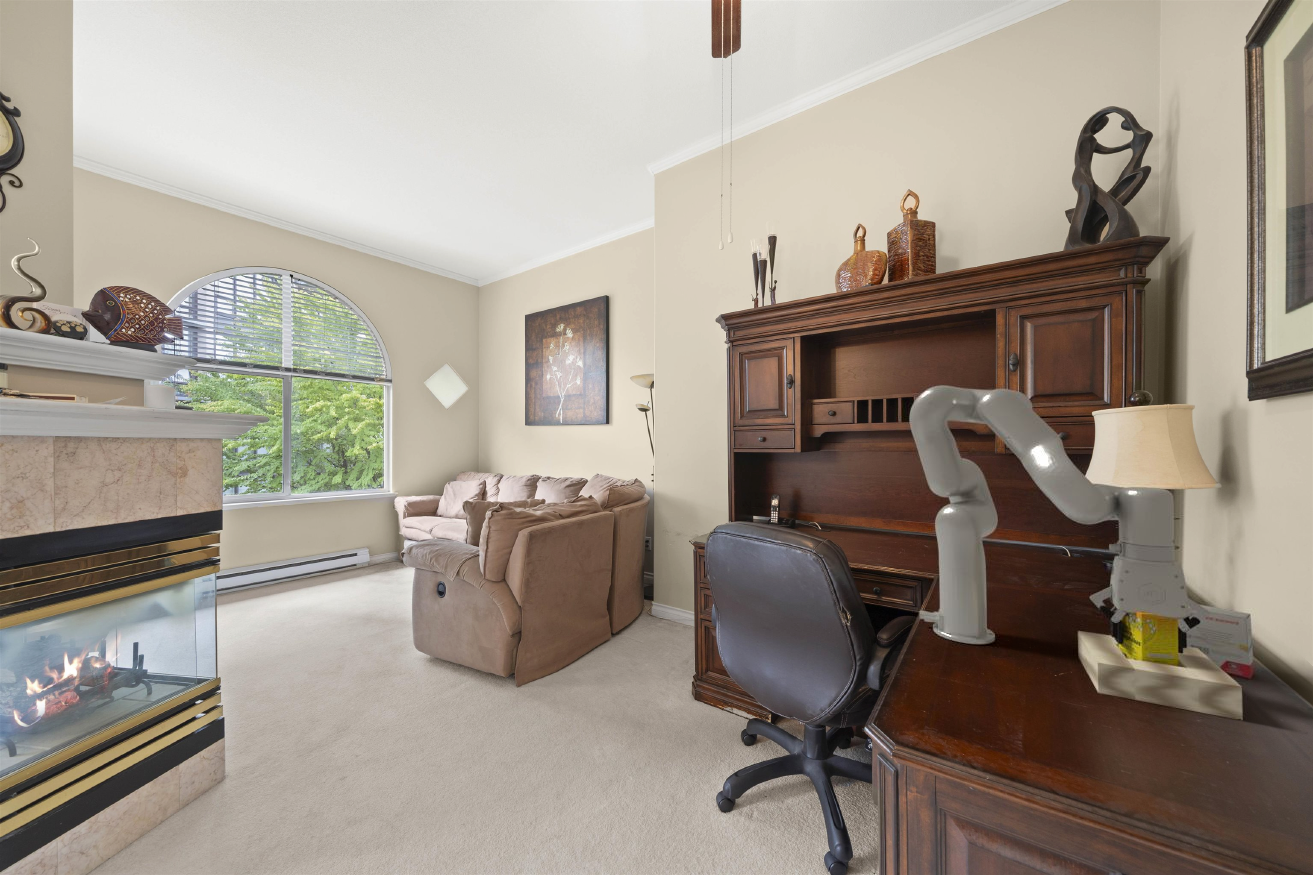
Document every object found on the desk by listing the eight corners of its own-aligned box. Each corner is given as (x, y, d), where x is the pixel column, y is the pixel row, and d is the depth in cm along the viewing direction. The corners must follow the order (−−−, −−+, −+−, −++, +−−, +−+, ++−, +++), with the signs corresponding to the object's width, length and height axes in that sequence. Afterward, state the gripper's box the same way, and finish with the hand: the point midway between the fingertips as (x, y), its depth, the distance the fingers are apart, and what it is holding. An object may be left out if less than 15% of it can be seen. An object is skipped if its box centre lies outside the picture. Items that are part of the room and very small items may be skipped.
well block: (1098, 692, 91) (1097, 662, 91) (1078, 656, 106) (1078, 630, 107) (1242, 720, 82) (1241, 686, 82) (1198, 676, 97) (1197, 648, 97)
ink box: (1254, 673, 98) (1253, 613, 98) (1250, 680, 95) (1248, 618, 96) (1190, 657, 106) (1189, 601, 106) (1185, 663, 103) (1183, 606, 103)
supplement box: (1117, 658, 98) (1117, 602, 98) (1152, 660, 97) (1152, 604, 97) (1142, 672, 92) (1141, 613, 92) (1179, 675, 91) (1178, 614, 91)
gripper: (1090, 551, 96) (1091, 643, 96) (1221, 562, 87) (1222, 664, 87) (1082, 544, 102) (1083, 630, 102) (1203, 554, 93) (1204, 648, 93)
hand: (1147, 645), depth 94 cm, fingers closed on supplement box, 7 cm apart
